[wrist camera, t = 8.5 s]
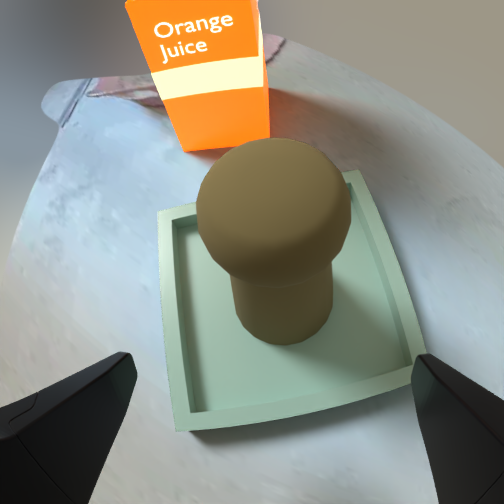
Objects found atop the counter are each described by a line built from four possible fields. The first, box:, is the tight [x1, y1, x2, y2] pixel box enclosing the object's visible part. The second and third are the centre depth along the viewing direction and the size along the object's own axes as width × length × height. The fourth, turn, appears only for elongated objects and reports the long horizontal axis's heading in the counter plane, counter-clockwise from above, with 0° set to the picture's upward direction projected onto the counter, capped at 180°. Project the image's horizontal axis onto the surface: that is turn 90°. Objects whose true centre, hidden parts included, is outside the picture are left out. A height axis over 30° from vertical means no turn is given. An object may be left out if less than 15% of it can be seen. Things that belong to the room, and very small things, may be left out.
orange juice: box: [125, 0, 270, 152], centre depth 19 cm, size 8×9×20 cm
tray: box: [158, 169, 427, 432], centre depth 19 cm, size 14×14×2 cm
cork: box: [196, 138, 351, 346], centre depth 14 cm, size 6×6×11 cm
